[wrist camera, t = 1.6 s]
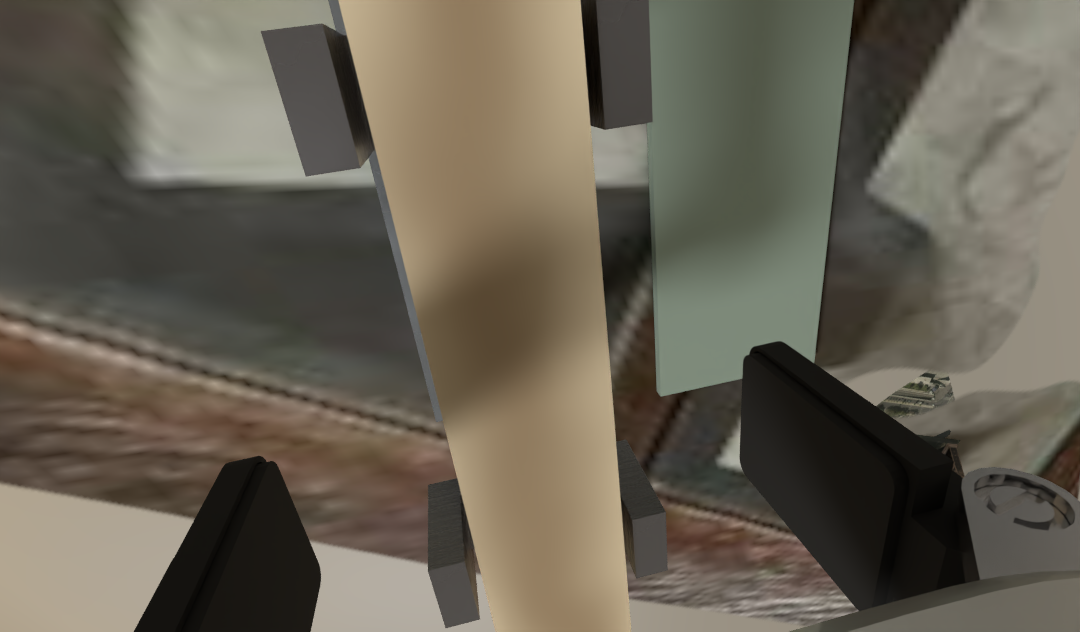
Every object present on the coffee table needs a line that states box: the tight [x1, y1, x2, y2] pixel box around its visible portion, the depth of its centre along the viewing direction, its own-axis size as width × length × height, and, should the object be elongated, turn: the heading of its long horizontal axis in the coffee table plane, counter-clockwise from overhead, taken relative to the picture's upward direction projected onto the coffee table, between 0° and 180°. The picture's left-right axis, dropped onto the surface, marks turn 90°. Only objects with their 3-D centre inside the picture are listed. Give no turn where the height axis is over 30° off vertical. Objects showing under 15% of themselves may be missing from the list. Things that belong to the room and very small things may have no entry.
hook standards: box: [261, 0, 668, 628], centre depth 19 cm, size 8×20×15 cm, turn 7°
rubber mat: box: [647, 0, 854, 396], centre depth 27 cm, size 10×24×1 cm, turn 7°
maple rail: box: [338, 0, 631, 632], centre depth 14 cm, size 4×19×3 cm, turn 7°
